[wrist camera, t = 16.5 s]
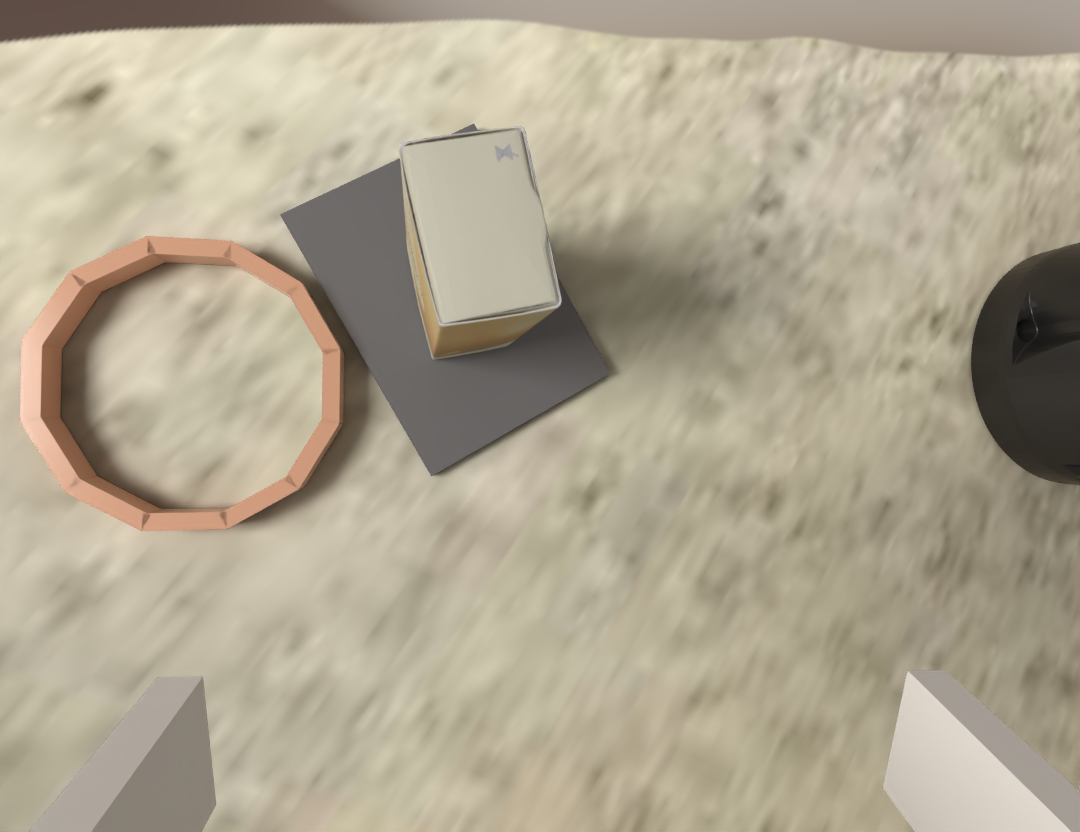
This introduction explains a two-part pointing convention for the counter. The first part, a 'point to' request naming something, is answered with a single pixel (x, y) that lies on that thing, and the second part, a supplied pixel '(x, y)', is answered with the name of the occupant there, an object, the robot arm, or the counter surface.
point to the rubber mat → (399, 337)
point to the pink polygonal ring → (65, 316)
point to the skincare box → (476, 240)
